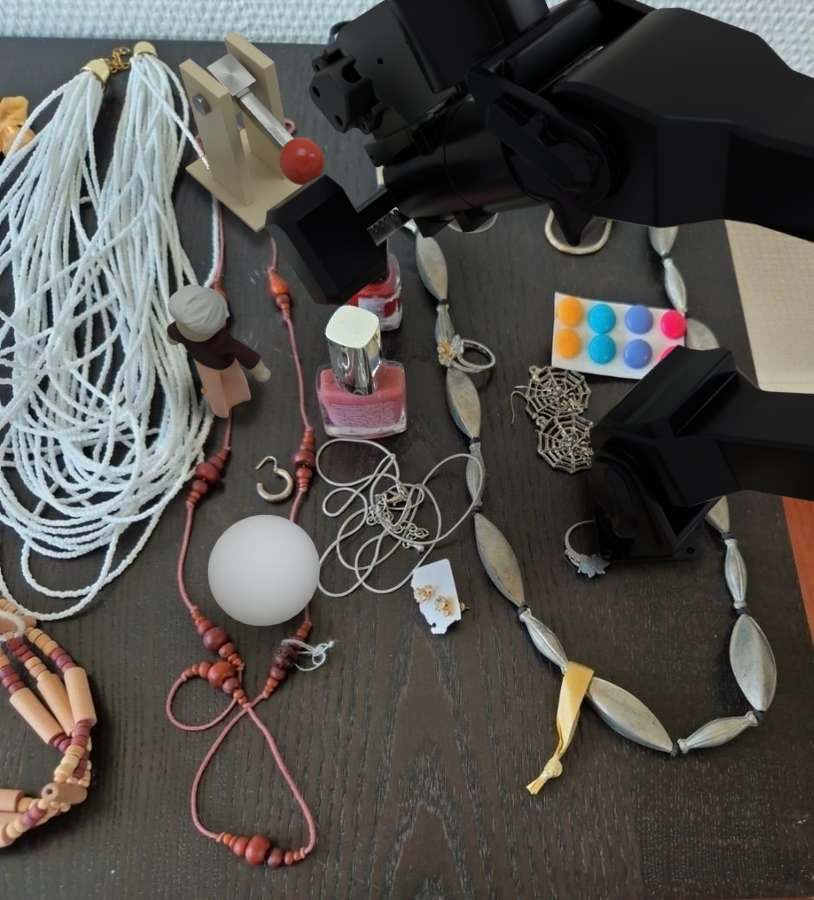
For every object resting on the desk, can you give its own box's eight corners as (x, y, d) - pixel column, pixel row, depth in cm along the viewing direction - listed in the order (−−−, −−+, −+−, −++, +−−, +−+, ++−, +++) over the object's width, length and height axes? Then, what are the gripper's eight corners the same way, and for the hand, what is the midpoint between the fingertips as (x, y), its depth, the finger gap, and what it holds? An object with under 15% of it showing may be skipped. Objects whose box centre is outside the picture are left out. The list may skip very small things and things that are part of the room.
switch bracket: (323, 193, 65) (307, 71, 54) (258, 240, 63) (228, 123, 52) (253, 134, 68) (224, 7, 57) (188, 178, 66) (146, 55, 55)
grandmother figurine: (173, 411, 57) (114, 310, 45) (192, 366, 58) (140, 258, 47) (275, 435, 56) (242, 338, 44) (291, 388, 57) (264, 284, 46)
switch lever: (331, 178, 58) (336, 152, 55) (298, 201, 57) (301, 177, 54) (236, 74, 58) (235, 44, 55) (202, 96, 57) (199, 66, 54)
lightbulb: (337, 562, 52) (321, 504, 42) (324, 655, 50) (304, 618, 39) (245, 553, 52) (209, 493, 42) (228, 645, 50) (184, 606, 40)
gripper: (547, -96, 39) (395, 5, 52) (256, 96, 33) (168, 153, 47) (631, 116, 44) (472, 158, 57) (389, 313, 38) (275, 309, 51)
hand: (355, 190), depth 53 cm, fingers open, 9 cm apart
